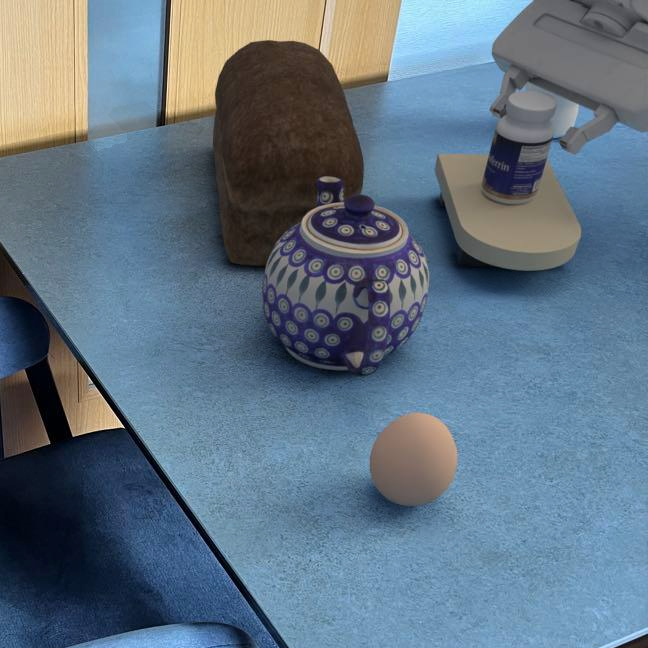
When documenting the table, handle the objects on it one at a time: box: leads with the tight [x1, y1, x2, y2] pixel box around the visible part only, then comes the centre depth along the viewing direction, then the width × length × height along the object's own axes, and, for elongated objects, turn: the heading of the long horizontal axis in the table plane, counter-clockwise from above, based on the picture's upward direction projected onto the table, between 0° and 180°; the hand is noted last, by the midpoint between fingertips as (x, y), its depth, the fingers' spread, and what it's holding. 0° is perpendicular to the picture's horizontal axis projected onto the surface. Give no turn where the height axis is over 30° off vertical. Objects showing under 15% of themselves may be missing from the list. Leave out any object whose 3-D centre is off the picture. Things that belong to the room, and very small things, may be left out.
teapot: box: [261, 176, 430, 377], centre depth 94 cm, size 25×15×15 cm, turn 179°
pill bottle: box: [481, 90, 557, 204], centre depth 106 cm, size 6×6×10 cm
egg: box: [369, 412, 459, 507], centre depth 81 cm, size 7×7×8 cm
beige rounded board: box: [434, 153, 582, 272], centre depth 110 cm, size 22×12×5 cm, turn 175°
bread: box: [212, 39, 365, 267], centre depth 114 cm, size 15×32×16 cm, turn 178°
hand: (530, 132), depth 104 cm, fingers open, 8 cm apart
